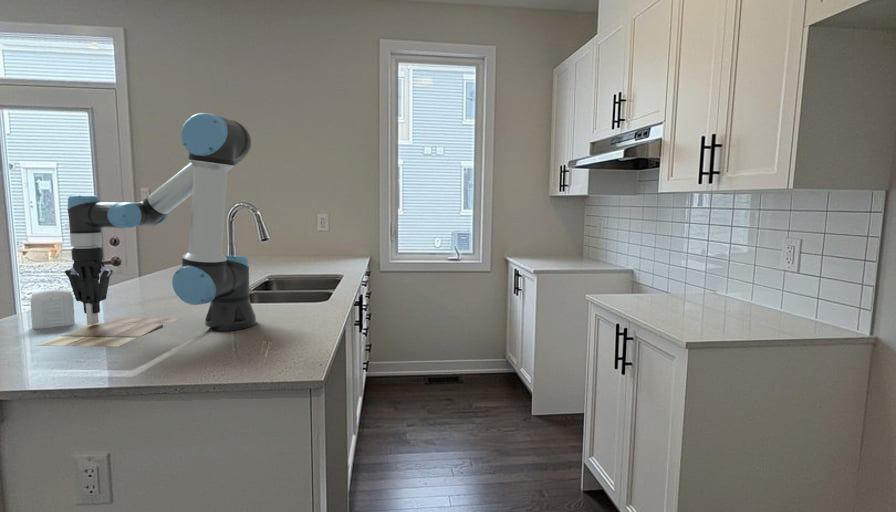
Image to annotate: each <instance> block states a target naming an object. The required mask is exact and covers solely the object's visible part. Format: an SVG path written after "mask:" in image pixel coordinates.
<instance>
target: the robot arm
mask: <svg viewBox="0 0 896 512" xmlns="http://www.w3.org/2000/svg"><path fill="white" fill-rule="evenodd" d="M180 138H181V139H180V140H181V144H182V145H183V146H184V148H185V150H186V151H188V162H189V163H188V164H187V165H185V166H184V167H183V168H182V169H181V170H179V171H178V172H177V173H175V174H174V175H173V176H172V177H171V178H169V179H168V180H166V181H165V182H164V183H162V185H160V186H159V187H158V188H156V189H155V190H154V191H153V192H151V194H150V195H148V196H146V197H145V198H144V199H143V200H141V201H139V202H138V201H136V202H135V201H134V202H133V201H131V202H129V201H126V202H125V201H119V202H117V201H114V202H113V201H112V202H111V201H109V202H103V201H102V202H101V201H100V197H99V196H97V195H84V194H83V195H74V194H73V195H69V196H68V197H67V215H68V223H69V225H68V226H69V238H70V241H69V242H70V246H71V247H73V248H71V249H70V250H71V251H70V253H71V259H72V261H73V264H72V267H71V268H70V269H66V270H64V274H65V275H66V277H67V278H68V280H69V283H70V287H71V289H72V292H73V296H74V298H75V301H76V302H81V303H82V304H83V312H84V314H86V325H93V324H96V323H100V321H99V314H100V312H101V308H100V307H101V305H100V302H102V301H104V300H106V299H107V296H108V291H109V290H108V289H109V284H110V278H111V276H112V274H113V269H108V268H106V267H105V264H104V262H103V260H104V250H103V249H104V248H102V247H101V246H103V237H102V228H112V229H132V228H135V227H146V226H147V227H149V226H150V227H151V226H152V227H155V226H157V225H161V224H164V223H165V222H166V221H167V219H168V217H169V213H170V212H172V211H173V210H174V209H175V208H177V207H178V206H179V205H180V204H181V203H183V202H185V200H187V199H188V198H190V196H192V198H191V214H190V215H191V216H190V227H189V228H190V229H189V230H190V231H189V243H188V245H189V246H188V251H187V252H186V253H184V254H183V255H182V259H181V261H182V263H181V267H180V268H178V269H177V270H176V271H175V272H174V274H173V276H172V282H171V285H172V290H173V291H174V293H175V295H176V296H178V298H179V299H180V301H182V302H184V303H186V304H188V305H191V306H199V305H205V304H209V307H208V310H207V313H206V317H205V320H204V324H205V326H206V327H209V328H208V330H209V331H215V332H226V331H227V332H230V331H238V330H243V328H244V329H248V328H251V327H253V326H255V325H256V324H257V317H256V314H255V311H254V309H253V306H252V303H251V300H250V299H251V298H250V265H249V259H248V257H246V256H244V255H224V253H223V241H224V227H225V214H226V211H225V210H226V196H227V183H228V172H229V171H230V170H232V169H233V168H234V167H235V166H238V164H239V163H240V162H241V161H242V160H244V159H245V158H246V157H247V156H248V154H249V153H250V151H251V148H252V137H251V135H250V132H249V131H248V129H247V128H246V127H245V126H244V125H243V124H241V123H240V122H238V121H236V120H234V119H233V120H231V119H229V118H226V117H223V116H221V115H217V114H213V113H204V112H200V113H196V114H194V115H193V114H192V116H190V117H189V118H188V119H186V120H185V122H184V124H183V125H182V128H181V131H180ZM255 323H256V324H255ZM254 324H255V325H254ZM252 325H253V326H252ZM250 326H251V327H250ZM247 327H248V328H247Z"/></svg>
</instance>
